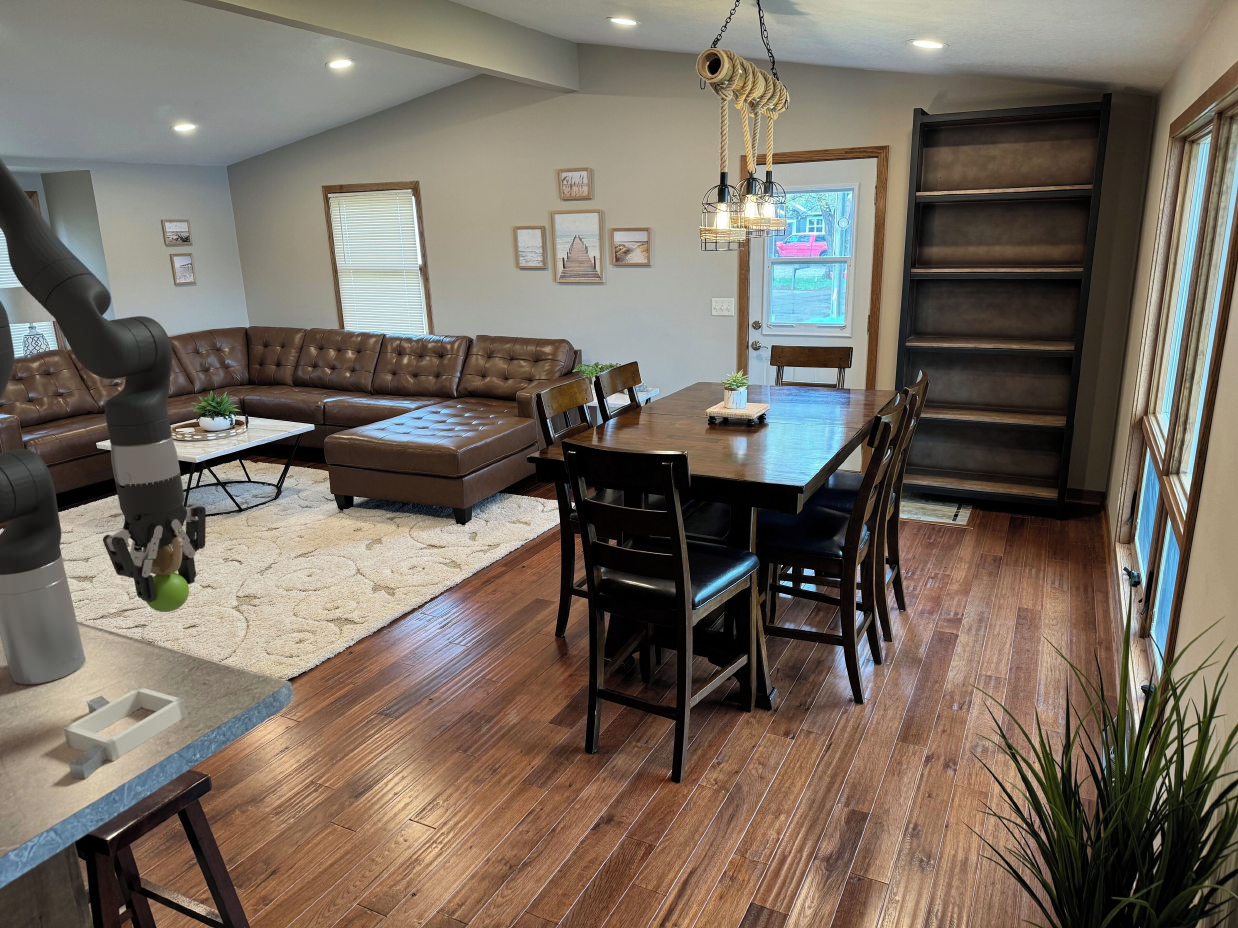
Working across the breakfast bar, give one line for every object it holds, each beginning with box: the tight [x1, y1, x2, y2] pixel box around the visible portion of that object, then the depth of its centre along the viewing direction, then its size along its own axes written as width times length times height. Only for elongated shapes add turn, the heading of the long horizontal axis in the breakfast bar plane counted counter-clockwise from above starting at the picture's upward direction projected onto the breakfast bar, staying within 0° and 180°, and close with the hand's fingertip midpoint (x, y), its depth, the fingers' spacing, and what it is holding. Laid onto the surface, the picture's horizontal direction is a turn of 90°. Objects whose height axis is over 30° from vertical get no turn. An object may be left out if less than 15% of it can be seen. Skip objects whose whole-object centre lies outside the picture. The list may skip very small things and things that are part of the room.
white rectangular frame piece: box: [63, 686, 188, 780], centre depth 109 cm, size 13×15×2 cm
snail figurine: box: [142, 529, 190, 613], centre depth 115 cm, size 5×6×12 cm
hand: (168, 590), depth 116 cm, fingers closed on snail figurine, 5 cm apart
